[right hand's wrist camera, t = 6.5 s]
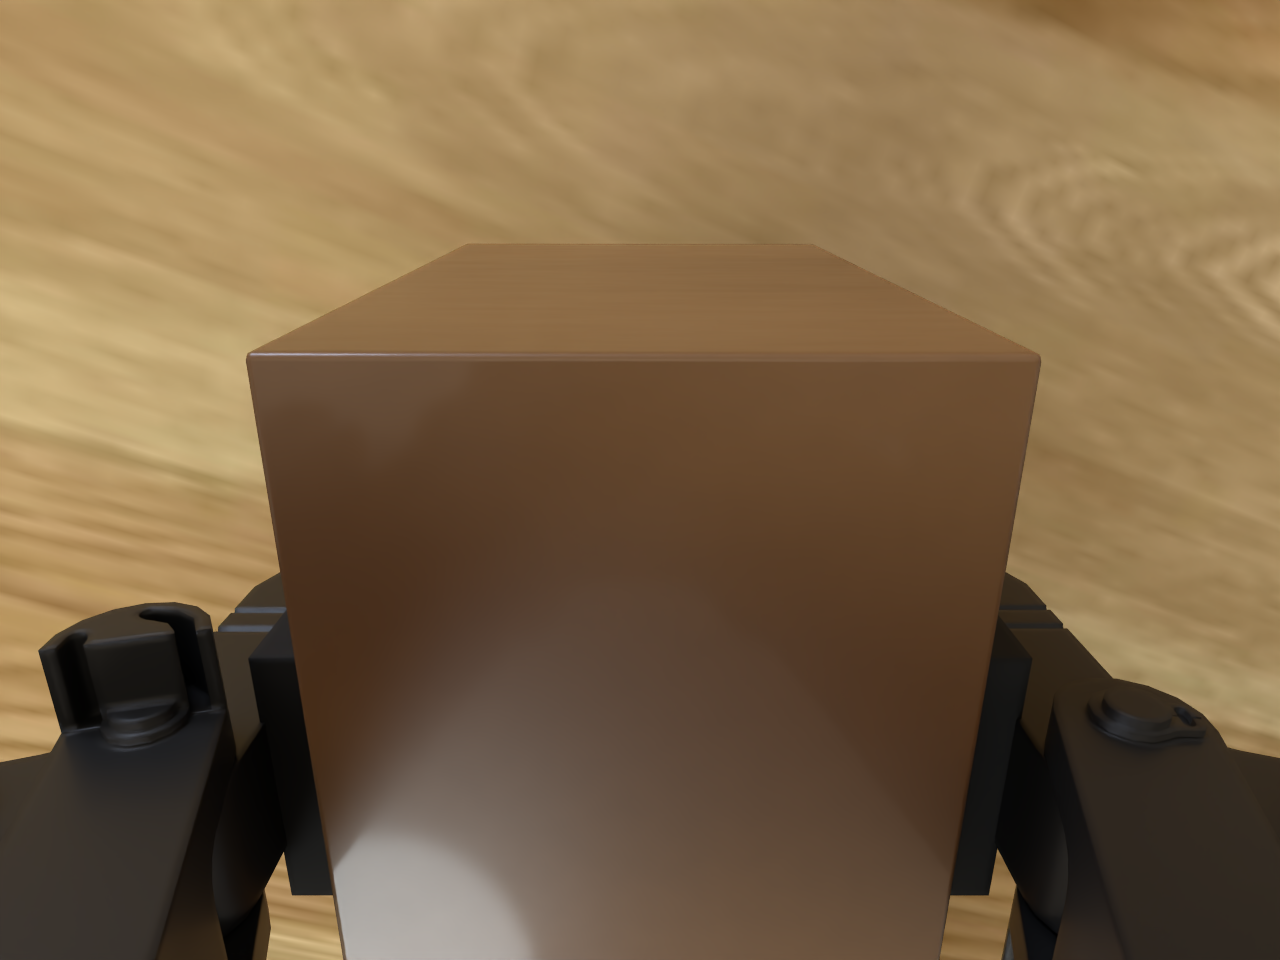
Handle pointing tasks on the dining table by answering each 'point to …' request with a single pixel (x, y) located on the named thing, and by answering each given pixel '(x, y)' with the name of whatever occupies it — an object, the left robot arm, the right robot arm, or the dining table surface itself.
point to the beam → (642, 599)
